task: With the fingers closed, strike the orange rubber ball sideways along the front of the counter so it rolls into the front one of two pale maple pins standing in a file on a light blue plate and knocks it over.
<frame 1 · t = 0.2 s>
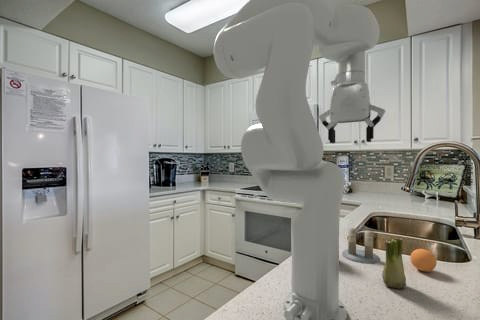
hand: (349, 142, 71), 36 cm above the counter, tool pointing down, fingers open, 9 cm apart
front pin: (368, 257, 80), on the counter
fennel bulb: (393, 286, 63), on the counter
light blue plate: (360, 255, 81), on the counter
back pin: (352, 254, 83), on the counter
ball: (423, 260, 71), on the counter
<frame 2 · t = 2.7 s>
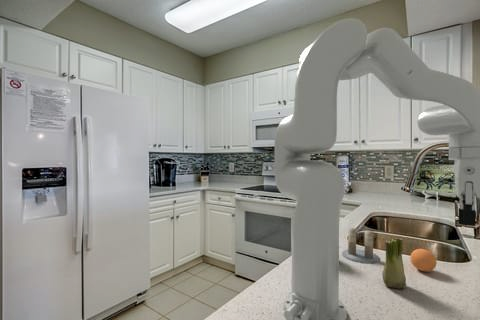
hand: (466, 224, 65), 15 cm above the counter, tool pointing down, fingers closed
nothing on the counter moved.
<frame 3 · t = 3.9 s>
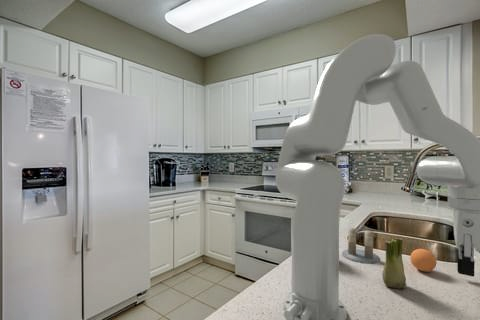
hand: (465, 273, 65), 2 cm above the counter, tool pointing down, fingers closed
nothing on the counter moved.
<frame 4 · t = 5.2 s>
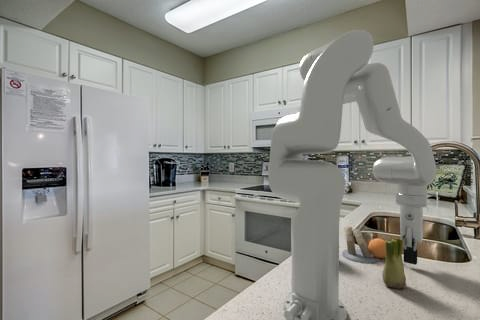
hand: (410, 262, 73), 1 cm above the counter, tool pointing down, fingers closed
front pin: (367, 256, 80), point 1 cm above the counter, tilted 26°, touching back pin
back pin: (352, 253, 83), on the counter, tilted 9°, touching front pin
ball: (378, 248, 80), on the counter
everything else where it was.
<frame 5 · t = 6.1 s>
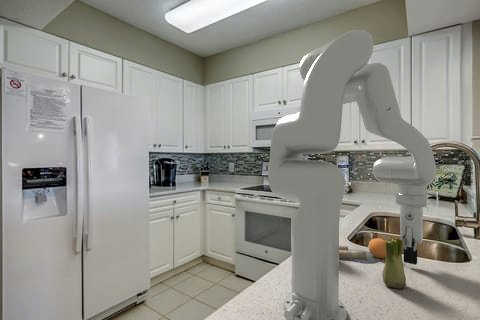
hand: (410, 262, 73), 2 cm above the counter, tool pointing down, fingers closed
front pin: (365, 255, 79), point 1 cm above the counter, tilted 90°
back pin: (347, 250, 83), point 1 cm above the counter, tilted 90°
everything else where it was.
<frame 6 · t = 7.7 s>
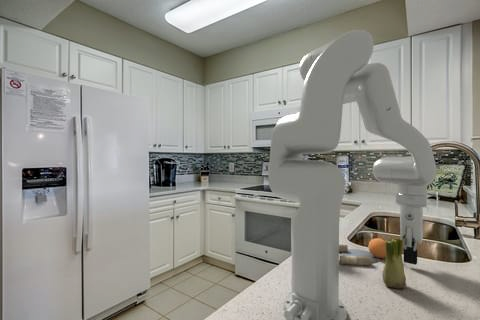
hand: (410, 262, 73), 2 cm above the counter, tool pointing down, fingers closed
front pin: (370, 261, 74), point 1 cm above the counter, tilted 90°
back pin: (346, 248, 84), point 1 cm above the counter, tilted 90°
everything else where it was.
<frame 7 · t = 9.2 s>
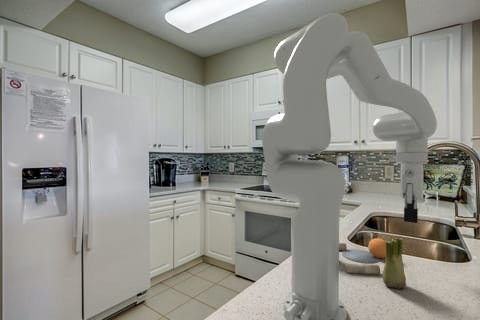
hand: (410, 221, 72), 13 cm above the counter, tool pointing down, fingers closed
front pin: (378, 269, 69), point 1 cm above the counter, tilted 90°
back pin: (345, 247, 86), point 1 cm above the counter, tilted 90°
everything else where it was.
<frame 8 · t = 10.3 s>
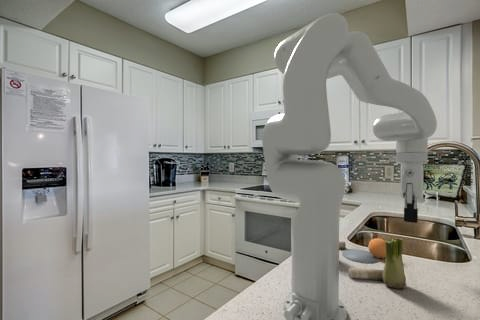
hand: (410, 221, 72), 13 cm above the counter, tool pointing down, fingers closed
front pin: (383, 274, 66), point 1 cm above the counter, tilted 90°
back pin: (344, 245, 88), point 1 cm above the counter, tilted 90°
everything else where it was.
at the end: front pin tilted 90°; front pin never touched the robot; ball moved 11.9 cm from its start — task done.
